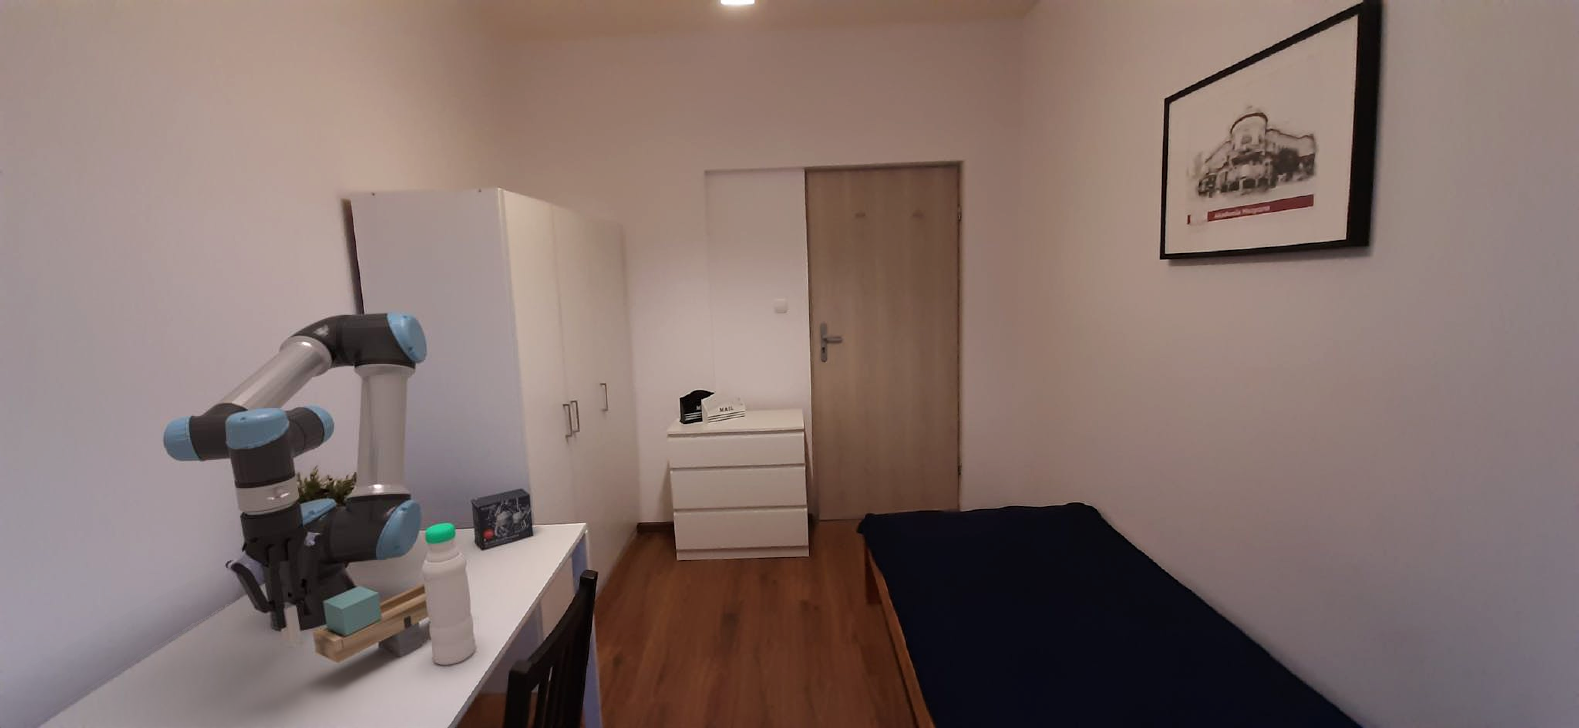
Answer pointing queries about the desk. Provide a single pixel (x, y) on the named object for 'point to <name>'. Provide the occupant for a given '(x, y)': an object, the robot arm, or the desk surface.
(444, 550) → the white bottle
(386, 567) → the desk surface
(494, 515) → the small box
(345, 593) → the block
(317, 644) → the beam
